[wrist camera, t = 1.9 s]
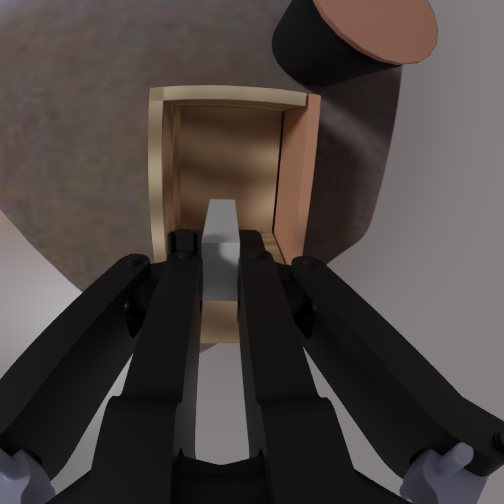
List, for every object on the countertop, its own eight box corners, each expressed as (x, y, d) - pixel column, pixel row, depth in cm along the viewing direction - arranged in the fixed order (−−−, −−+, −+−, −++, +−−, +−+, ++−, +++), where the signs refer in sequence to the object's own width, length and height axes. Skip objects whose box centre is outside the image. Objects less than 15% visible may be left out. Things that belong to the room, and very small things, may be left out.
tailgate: (285, 102, 29) (309, 93, 20) (293, 103, 29) (320, 95, 20) (273, 240, 36) (288, 280, 28) (280, 240, 37) (297, 280, 28)
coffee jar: (360, 42, 26) (447, 7, 10) (332, 101, 30) (421, 92, 14) (288, 5, 23) (337, -67, 7) (256, 65, 27) (287, 9, 11)
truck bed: (174, 99, 28) (140, 83, 16) (280, 102, 30) (316, 89, 17) (176, 273, 39) (159, 341, 26) (265, 274, 40) (282, 342, 28)
